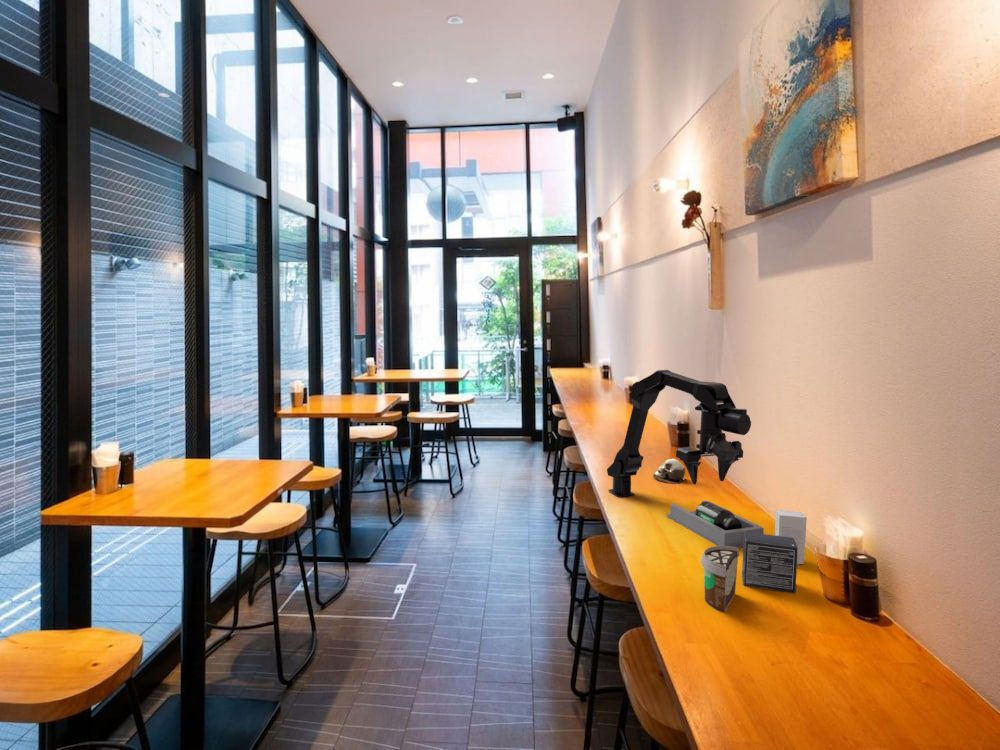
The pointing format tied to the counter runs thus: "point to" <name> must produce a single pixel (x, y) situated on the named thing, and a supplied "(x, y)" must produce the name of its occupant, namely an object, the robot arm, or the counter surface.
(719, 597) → the food container
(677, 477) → the skull
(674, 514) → the gray rectangular tray
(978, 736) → the counter surface
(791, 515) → the skincare box
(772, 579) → the small box
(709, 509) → the supplement bottle
